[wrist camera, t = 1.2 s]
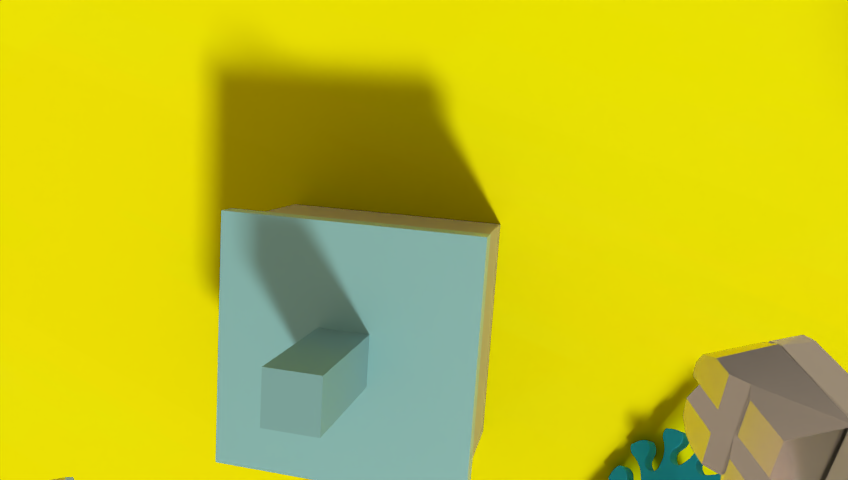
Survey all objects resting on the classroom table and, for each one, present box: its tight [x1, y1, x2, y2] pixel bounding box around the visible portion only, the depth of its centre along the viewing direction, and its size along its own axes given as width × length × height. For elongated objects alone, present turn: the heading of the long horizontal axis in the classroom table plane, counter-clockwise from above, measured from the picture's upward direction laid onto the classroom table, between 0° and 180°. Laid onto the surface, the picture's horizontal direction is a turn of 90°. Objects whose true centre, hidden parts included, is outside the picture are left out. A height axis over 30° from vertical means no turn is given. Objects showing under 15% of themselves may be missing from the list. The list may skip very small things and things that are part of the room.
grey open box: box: [265, 204, 500, 458], centre depth 46 cm, size 14×14×8 cm
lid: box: [216, 208, 491, 480], centre depth 38 cm, size 15×15×9 cm
